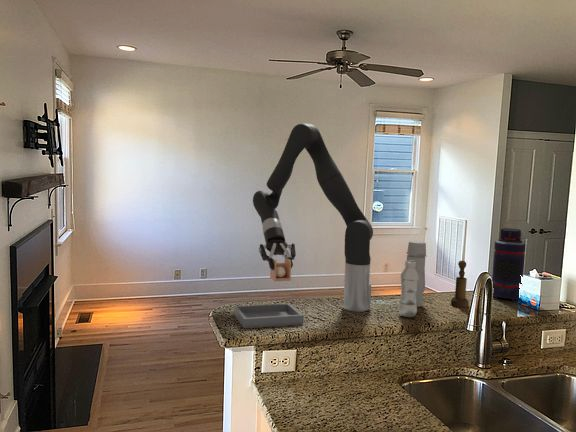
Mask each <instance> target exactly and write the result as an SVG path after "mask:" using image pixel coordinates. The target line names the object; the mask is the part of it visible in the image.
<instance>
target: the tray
mask: <svg viewBox="0 0 576 432" xmlns="http://www.w3.org/2000/svg"><path fill="white" fill-rule="evenodd" d="M233 316H235V318H236V319H237V321H238V322H239V323H240V325H241V326H242V327H243V329H251V328H253V329H255V328H267V327H269V328H270V327H284V326H285V327H286V326H295V325H296V326H298V325H304V319H305V318H304V316H305V315H304V314H303V313H301V312H300V311H299V310H298V309H297V308H296V307H294V306H293V305H292V304H291V303H288V302H287V303H269V304H254V305H253V304H252V305H250V304H249V305H234V306H233Z"/></svg>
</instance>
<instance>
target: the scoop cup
mask: <svg viewBox="0 0 576 432" xmlns="http://www.w3.org/2000/svg"><path fill="white" fill-rule="evenodd" d="M272 259H273V262H274V266H275V268H274V270H272V269H269V270H270V271H269V273H270V274H269V275H270V277H269V278H270V279H271V280H272V281H273V282H291V281H292V279H291V278H292V277H291V276H292V268H291V260H290V259H288V258H284V262H278V261H277V260H276V259H274V258H273V257H272ZM277 267H283V268H284V269H285V271H286V273H285V275H284V276H283V277H281V278H279V277H277V276H276V268H277Z"/></svg>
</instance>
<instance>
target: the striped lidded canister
mask: <svg viewBox="0 0 576 432" xmlns="http://www.w3.org/2000/svg"><path fill="white" fill-rule="evenodd" d="M499 234H500V235H499V236H500V237H499V238H498V239H497V240H496V241H495V240H494V246H493V247H494V248H493V249H494V251H493V264H492V275H491V276H492V277H491V282H492V281H493V288H494V293H493V295H492V296H493V299H496V300H498V298H501V299H508V300H509V299H510V300H511V301H512V302H517V301H518V300H519V299H518V298H519V289H520V288H519V283H520V284H522V283H521V276H522V277H523V278H524V268H525V257H526V255H525V252H526V243H524V242H525V241H524V239H525V238H524V235H523V232H522V230H521V229H520V228H511V227H503V228H500V233H499ZM520 275H521V276H520ZM522 285H523V284H522Z"/></svg>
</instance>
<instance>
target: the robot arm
mask: <svg viewBox="0 0 576 432" xmlns="http://www.w3.org/2000/svg"><path fill="white" fill-rule="evenodd" d="M303 150H306V152H307V153H308V155H309V156H310V158H311V160H312V162H313V164H314V170H315V175H316V180H317V182H318V185H319V187H320V188H321V191H322V192H323V194H324V195H325V197H326V198H327V200H328V201H329V202H330V204H331V205H332V206H333V207H334V208H335V209H336V210H337V212H338V213H339V214H340V216H341V217H342V220H343V221H344V223H345V225H346V227H345V232H344V259H345V260H344V261H345V262H344V264H345V265H344V281H343V282H344V285H343V301H342V302H343V303H342V308H343V309H344V310H346V311H349V312H361V313H362V312H366V311H370V310H371V302H372V301H371V300H372V299H371V297H372V284H370V277H371V276H370V275H371V274H370V273H371V259H372V257H371V254H370V251H371V250H370V248H371V247H370V245H371V240H372V238H373V236H374V230H373V226H372V224H371V223H370V221H369V220H368V219H367V217H366V216H365V214H363V212H362V210H361V209H360V208H359V206H358V204H357V202H356V200H355V197H354V195H353V193H352V192H351V190H350V187H349V185H348V183H347V181H346V180H345V178H344V176H343V174H342V173H341V171H340V169H339V167H338V165H337V164H336V163H335V160H334V159H333V158H332V155H331V154H330V152H329V151H328V148H327V146H326V144H325V141H324V139H323V136H322V135H321V132H320V130H319V129H318V127H317V126H315V125H314V124H311V123H298V124H296V125H295V126H293V128H292V130H291V131H290V133H289V136H288V138H287V141H286V143H285V146H284V149H283V151H282V152H281V156H280V158H279V160H278V163H277V164H276V166H275V167H274V169H273V171H272V172H271V174H270V176H269V177H268V180H267V181H266V187H267V188H268V190H270V191H271V193H270V192H267V191H264V190H257V191H256V192H254V194H253V196H252V204H253V207H254V209H255V211H256V212H257V214H258V216H259V217H260V219H261V220H260V221H261V225H262V233H263V234H262V235H263V237H264V241H265V244H262V243H261V244H259V246H258V251H259V254H260V256H261V259H262V261H263V262H265V261H266V262H268V265H269V268H270V269H272V270H274V268H275V266H274V262H273V259H274V258H273V256H282V258H284V259H285V258H288V259H290V260H291V269H292V268H293V266H294V263H293V261H294V260H295V259H296V256H297V255H296V246H295V245H296V244H295V243H293V242H292V243H291V244H288V242H287V241H286V238H285V233H284V230H283V226H282V223H281V221H280V217H279V213H278V211H277V210H276V209H277V208H278V206H279V204H280V199H281V196H282V193H283V189H285V187H286V185H287V183H288V181H289V180H290V178H291V176H292V173H293V170H294V165H295V163H296V161H297V158H298V157H299V156H300V154H301V153H302V152H303ZM287 248H288V249H287ZM266 250H267V251H268V252H269V255H268V254H267V252H266ZM272 258H273V259H272ZM270 269H269V270H270Z"/></svg>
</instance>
